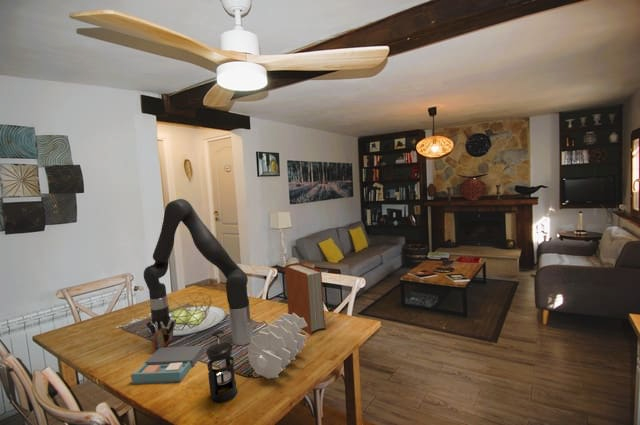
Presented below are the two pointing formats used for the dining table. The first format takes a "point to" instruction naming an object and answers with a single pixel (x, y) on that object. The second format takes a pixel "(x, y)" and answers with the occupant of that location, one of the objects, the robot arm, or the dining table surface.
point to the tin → (161, 339)
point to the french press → (221, 371)
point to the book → (305, 295)
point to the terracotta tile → (152, 368)
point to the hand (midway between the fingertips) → (163, 341)
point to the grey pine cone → (276, 345)
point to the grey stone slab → (176, 355)
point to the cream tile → (174, 367)
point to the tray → (160, 375)
